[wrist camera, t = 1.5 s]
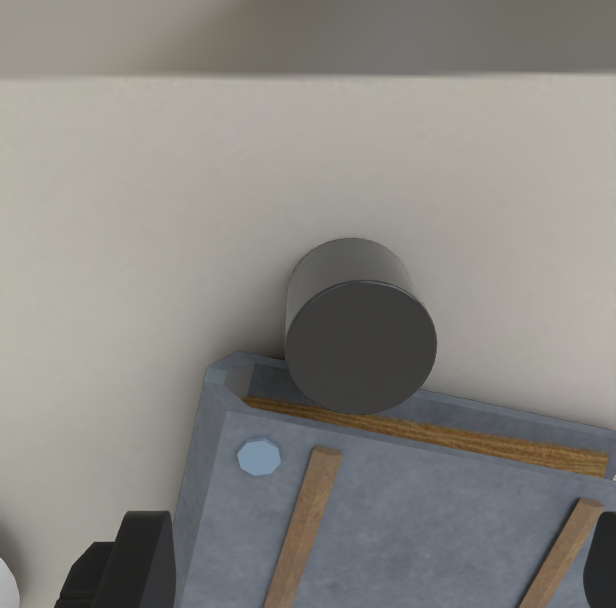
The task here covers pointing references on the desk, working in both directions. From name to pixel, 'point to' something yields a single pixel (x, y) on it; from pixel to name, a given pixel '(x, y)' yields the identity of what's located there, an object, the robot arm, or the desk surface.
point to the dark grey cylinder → (356, 328)
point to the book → (382, 500)
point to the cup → (8, 588)
